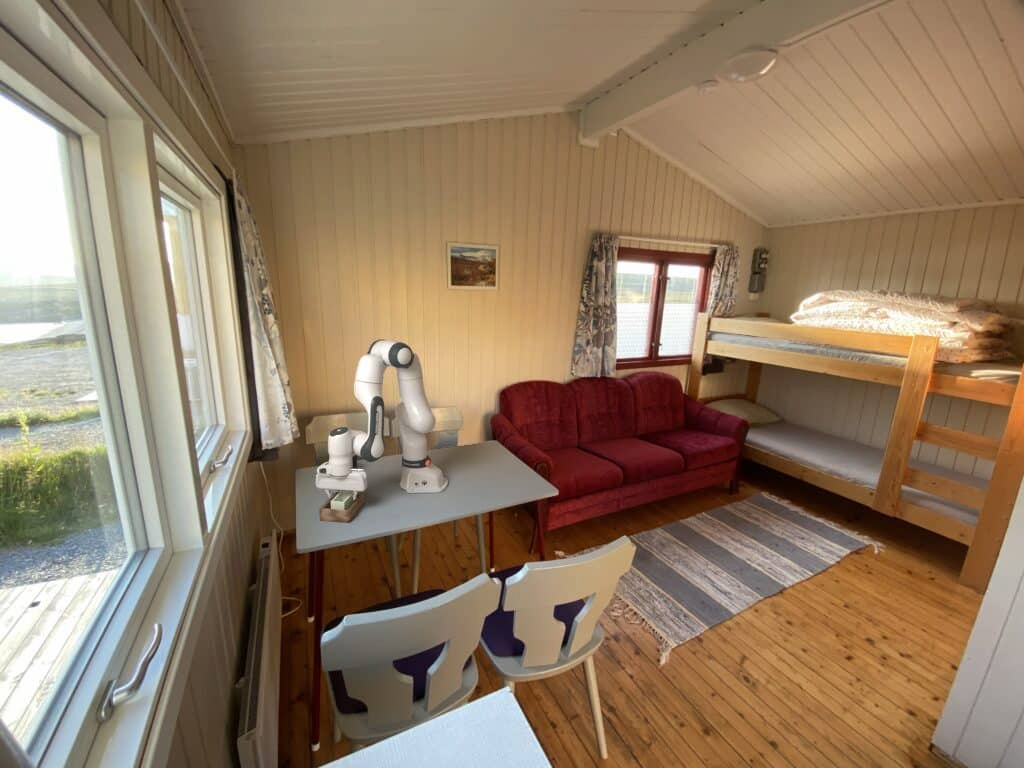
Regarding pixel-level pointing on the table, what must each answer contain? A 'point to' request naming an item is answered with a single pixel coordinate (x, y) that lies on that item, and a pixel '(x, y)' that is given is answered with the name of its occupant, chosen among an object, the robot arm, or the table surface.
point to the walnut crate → (341, 515)
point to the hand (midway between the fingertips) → (342, 498)
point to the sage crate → (342, 501)
